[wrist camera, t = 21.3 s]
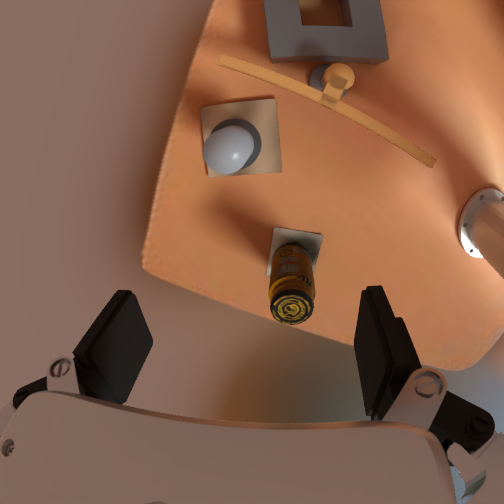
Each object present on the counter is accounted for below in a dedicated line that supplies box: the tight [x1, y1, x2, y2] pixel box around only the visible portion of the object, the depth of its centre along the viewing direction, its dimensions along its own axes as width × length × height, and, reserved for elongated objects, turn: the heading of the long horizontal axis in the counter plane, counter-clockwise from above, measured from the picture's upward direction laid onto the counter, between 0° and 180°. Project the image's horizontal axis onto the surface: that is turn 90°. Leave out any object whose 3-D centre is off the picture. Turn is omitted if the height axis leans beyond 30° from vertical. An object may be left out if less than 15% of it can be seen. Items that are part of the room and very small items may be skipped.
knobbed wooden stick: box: [217, 54, 436, 168], centre depth 26 cm, size 5×26×2 cm, turn 68°
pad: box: [199, 99, 282, 178], centre depth 36 cm, size 10×10×1 cm
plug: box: [203, 118, 262, 174], centre depth 31 cm, size 6×6×11 cm
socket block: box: [263, 0, 389, 98], centre depth 25 cm, size 14×20×6 cm
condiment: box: [266, 227, 323, 325], centre depth 39 cm, size 7×8×12 cm
